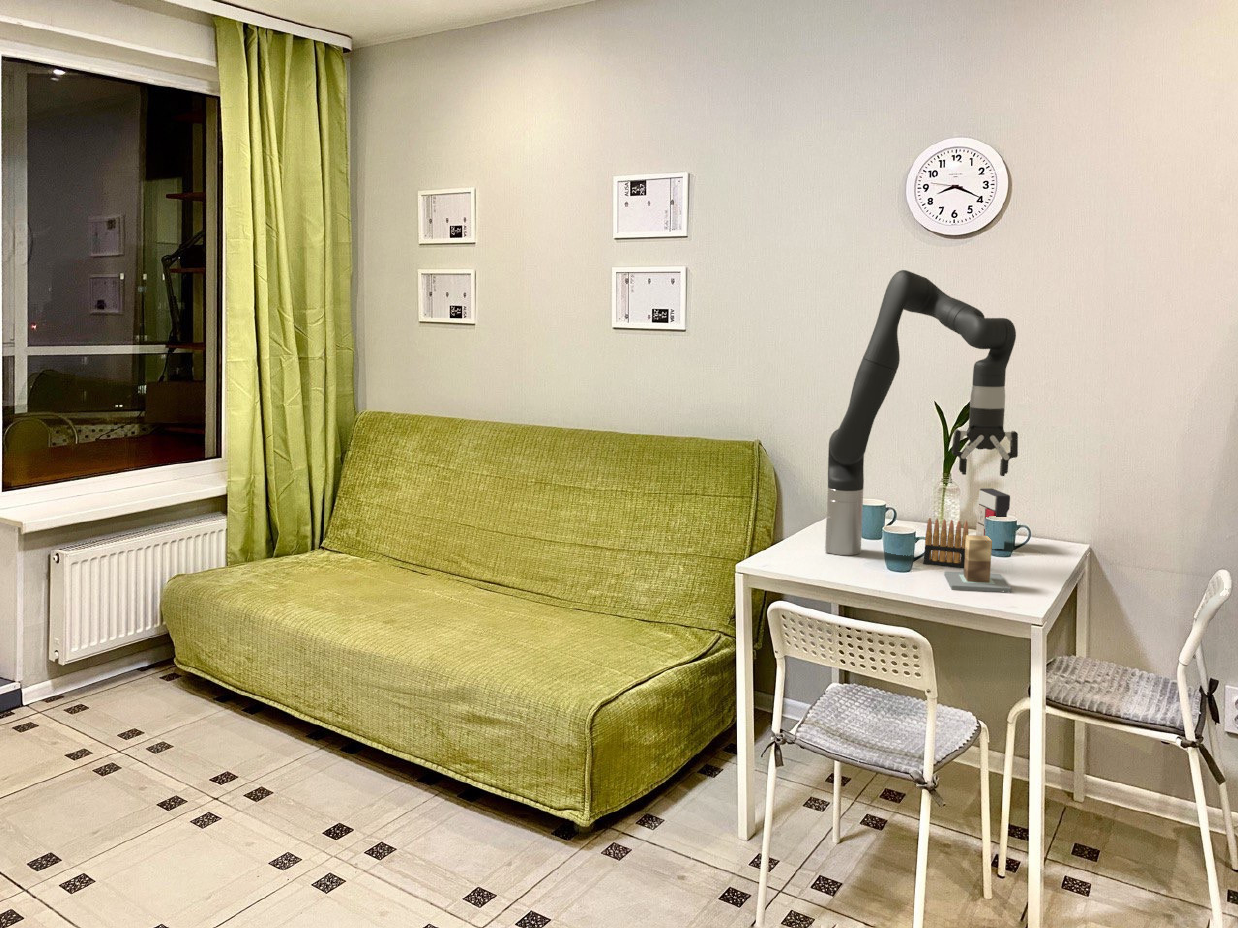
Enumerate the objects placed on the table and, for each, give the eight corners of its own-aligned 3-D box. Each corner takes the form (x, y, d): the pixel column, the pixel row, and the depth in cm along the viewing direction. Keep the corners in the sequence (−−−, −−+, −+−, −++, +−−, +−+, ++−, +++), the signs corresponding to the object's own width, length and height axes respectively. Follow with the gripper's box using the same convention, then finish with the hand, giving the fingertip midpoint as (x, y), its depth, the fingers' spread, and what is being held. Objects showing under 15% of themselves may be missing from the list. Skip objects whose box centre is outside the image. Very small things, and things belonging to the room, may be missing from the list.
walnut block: (967, 581, 237) (968, 560, 237) (963, 575, 242) (965, 555, 242) (989, 582, 237) (990, 561, 236) (985, 576, 242) (987, 556, 241)
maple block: (968, 560, 237) (969, 539, 236) (964, 555, 242) (965, 535, 241) (990, 561, 236) (992, 540, 235) (986, 556, 241) (987, 535, 240)
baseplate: (951, 589, 235) (951, 585, 234) (944, 575, 247) (944, 570, 247) (1010, 592, 232) (1010, 587, 232) (1000, 577, 245) (1000, 573, 245)
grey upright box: (974, 541, 283) (977, 488, 281) (988, 540, 283) (992, 488, 281) (991, 550, 272) (994, 495, 270) (1006, 550, 273) (1010, 495, 270)
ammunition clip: (968, 567, 255) (970, 520, 253) (967, 569, 253) (969, 522, 251) (924, 562, 259) (926, 516, 257) (923, 564, 258) (925, 518, 256)
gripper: (957, 406, 231) (953, 476, 233) (1023, 407, 228) (1018, 478, 231) (952, 403, 238) (948, 471, 241) (1016, 404, 235) (1012, 473, 238)
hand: (983, 474), depth 236 cm, fingers open, 8 cm apart
